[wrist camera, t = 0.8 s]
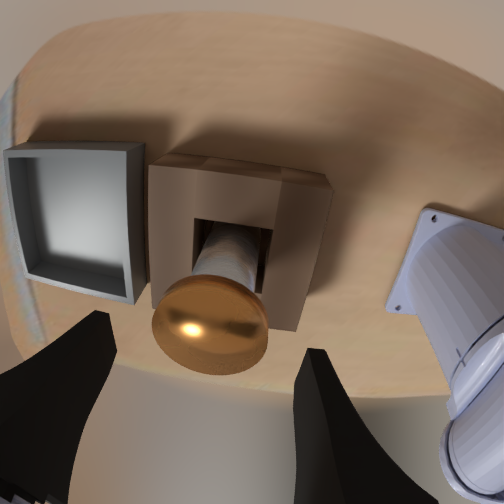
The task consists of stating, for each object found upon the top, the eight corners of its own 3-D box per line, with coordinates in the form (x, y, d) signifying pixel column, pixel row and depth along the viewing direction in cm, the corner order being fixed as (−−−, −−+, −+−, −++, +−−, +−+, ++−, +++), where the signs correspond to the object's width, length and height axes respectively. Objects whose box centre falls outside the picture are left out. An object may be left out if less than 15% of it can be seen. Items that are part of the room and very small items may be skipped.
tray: (144, 142, 17) (126, 151, 14) (147, 283, 22) (134, 305, 19) (26, 141, 17) (3, 150, 14) (42, 261, 22) (25, 277, 19)
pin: (278, 205, 18) (277, 302, 10) (266, 268, 20) (258, 381, 12) (203, 194, 18) (147, 281, 10) (199, 258, 20) (156, 363, 12)
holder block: (324, 174, 17) (333, 190, 14) (294, 302, 21) (295, 331, 19) (168, 152, 17) (148, 164, 14) (166, 281, 21) (152, 308, 19)
